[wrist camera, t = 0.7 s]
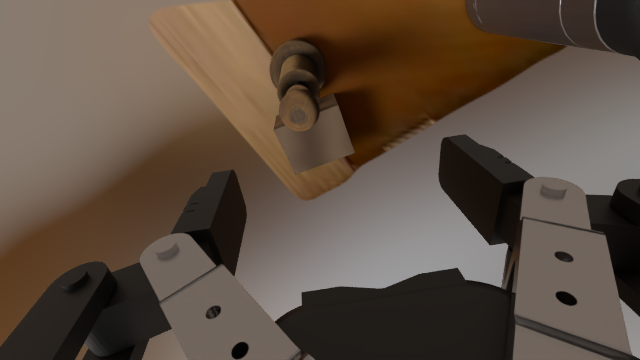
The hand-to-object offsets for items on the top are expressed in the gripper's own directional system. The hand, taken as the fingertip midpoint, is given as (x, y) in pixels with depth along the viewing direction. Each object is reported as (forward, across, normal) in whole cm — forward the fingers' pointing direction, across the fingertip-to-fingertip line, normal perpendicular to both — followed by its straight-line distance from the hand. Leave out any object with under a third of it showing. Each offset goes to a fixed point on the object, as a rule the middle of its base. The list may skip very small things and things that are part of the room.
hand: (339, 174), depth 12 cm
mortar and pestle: (+29, +1, 0) cm, 29 cm away
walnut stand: (+28, 0, +8) cm, 30 cm away
